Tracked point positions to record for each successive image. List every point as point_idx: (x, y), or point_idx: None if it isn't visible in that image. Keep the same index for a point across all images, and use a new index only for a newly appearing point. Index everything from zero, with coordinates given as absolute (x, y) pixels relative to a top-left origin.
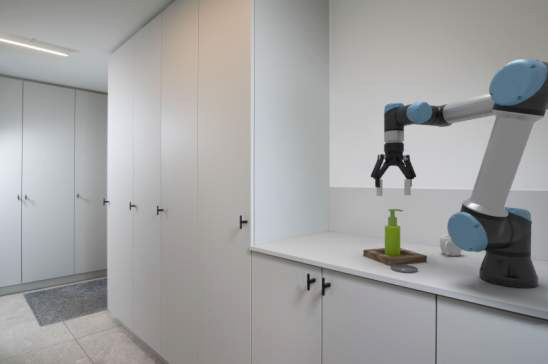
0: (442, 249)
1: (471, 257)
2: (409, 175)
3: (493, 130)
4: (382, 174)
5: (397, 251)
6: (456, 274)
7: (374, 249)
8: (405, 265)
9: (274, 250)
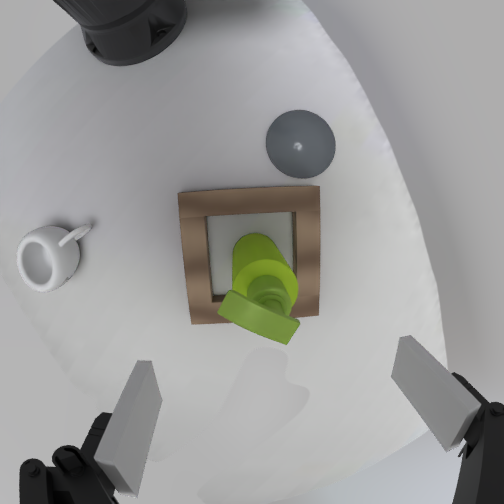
0: (77, 258)
1: (39, 211)
2: (94, 496)
3: None
4: (491, 442)
5: (255, 238)
6: (200, 71)
7: None
8: (282, 160)
9: None
